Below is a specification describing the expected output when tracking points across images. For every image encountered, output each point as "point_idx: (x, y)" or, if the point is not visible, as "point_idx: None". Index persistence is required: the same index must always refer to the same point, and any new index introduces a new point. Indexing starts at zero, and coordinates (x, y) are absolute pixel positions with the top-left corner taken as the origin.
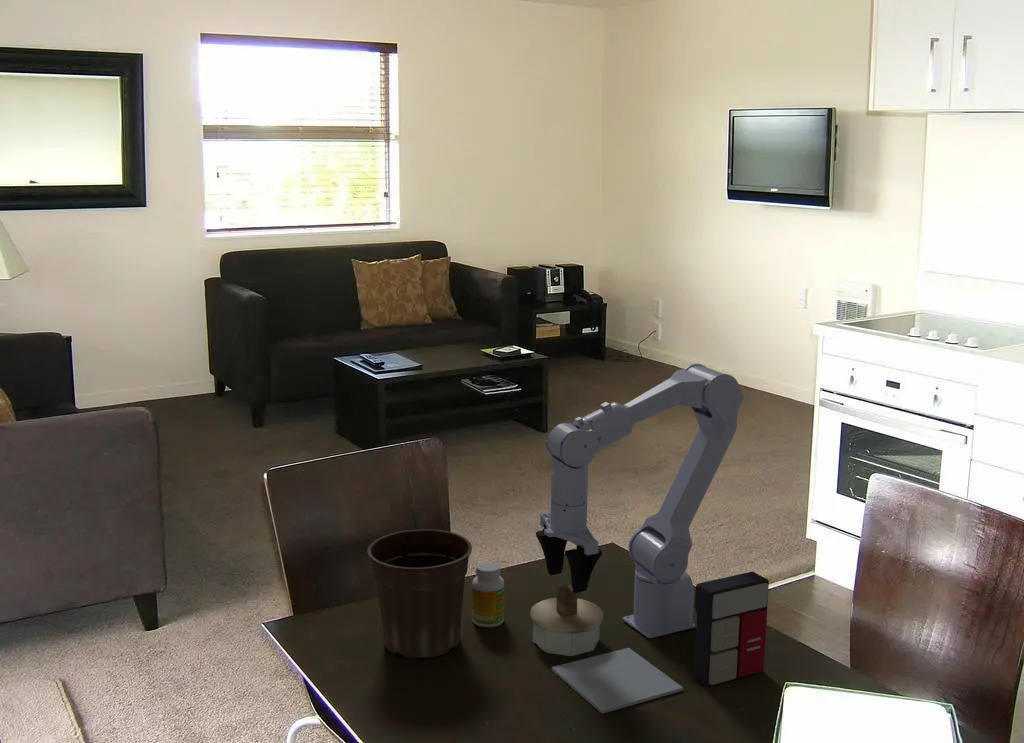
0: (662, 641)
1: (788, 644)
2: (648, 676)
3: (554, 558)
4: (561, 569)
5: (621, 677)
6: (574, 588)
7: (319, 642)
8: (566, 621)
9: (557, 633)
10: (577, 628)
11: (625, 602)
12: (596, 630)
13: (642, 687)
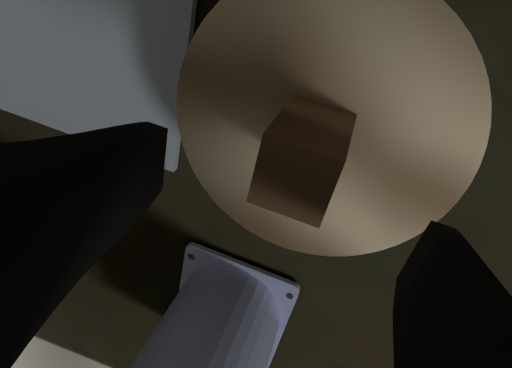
0: (170, 249)
1: (63, 341)
2: (40, 85)
3: (433, 331)
4: (398, 295)
5: (60, 28)
6: (129, 124)
7: None
8: (256, 68)
9: None
10: (185, 54)
11: (363, 359)
12: None
13: (1, 28)
